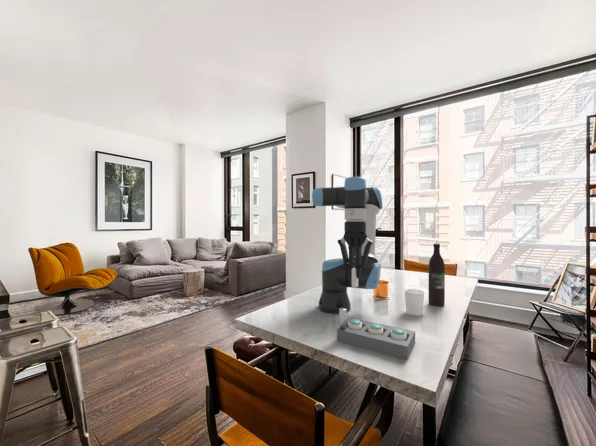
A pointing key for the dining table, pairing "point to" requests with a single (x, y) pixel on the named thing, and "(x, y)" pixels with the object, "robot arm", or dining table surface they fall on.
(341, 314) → the grey metal rod
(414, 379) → the dining table surface
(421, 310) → the white cup
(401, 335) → the knob
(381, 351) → the plate
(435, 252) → the wine bottle
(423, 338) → the dining table surface
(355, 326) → the knob
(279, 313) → the dining table surface
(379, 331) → the knob middle
